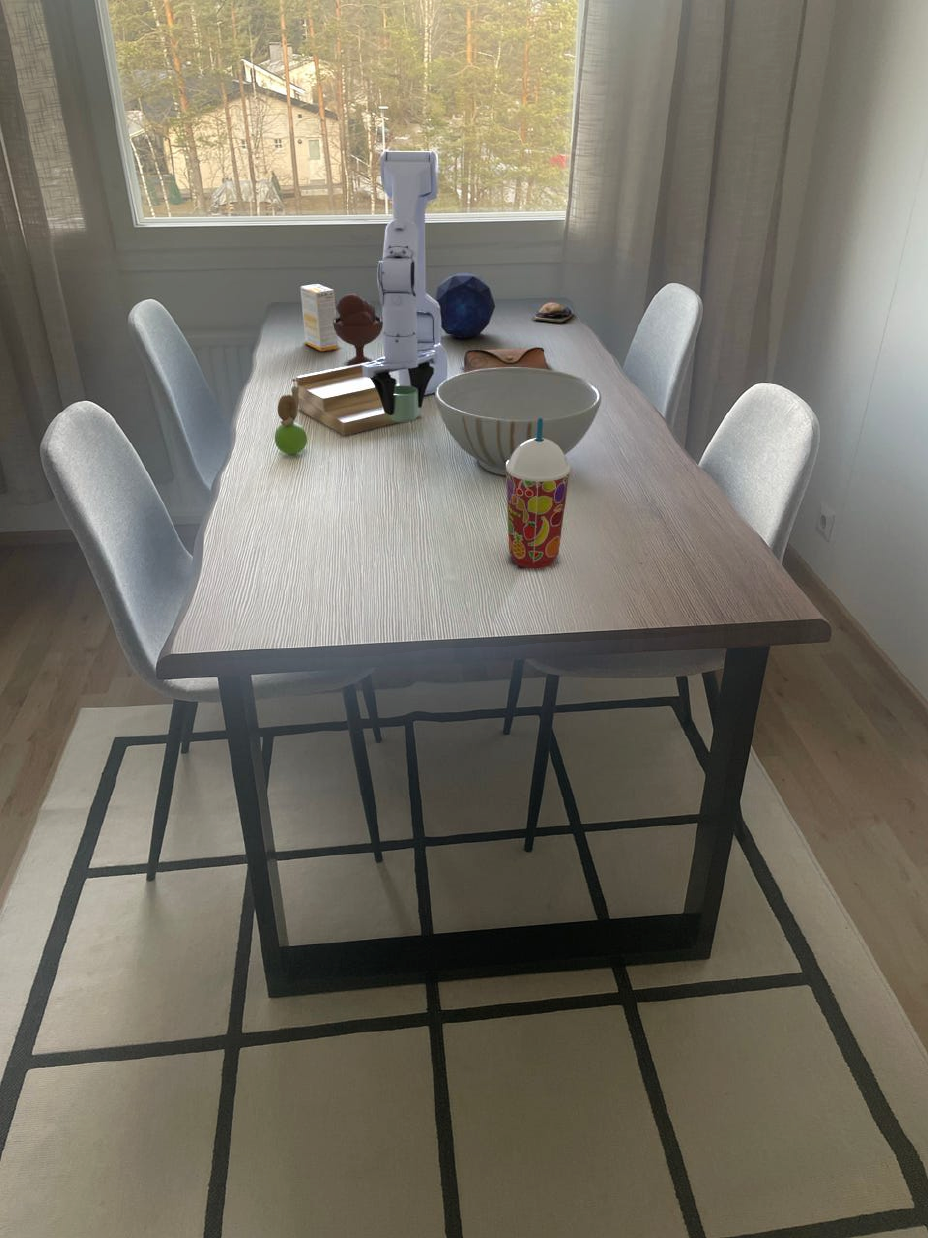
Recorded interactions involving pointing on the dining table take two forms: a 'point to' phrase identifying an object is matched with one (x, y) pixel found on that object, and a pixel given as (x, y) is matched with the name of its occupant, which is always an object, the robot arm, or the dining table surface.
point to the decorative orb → (464, 305)
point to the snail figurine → (290, 424)
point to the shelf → (342, 400)
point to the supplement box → (319, 317)
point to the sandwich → (553, 313)
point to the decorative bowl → (515, 410)
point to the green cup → (405, 404)
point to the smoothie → (536, 500)
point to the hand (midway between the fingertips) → (402, 409)
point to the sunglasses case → (505, 359)
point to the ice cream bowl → (357, 324)
